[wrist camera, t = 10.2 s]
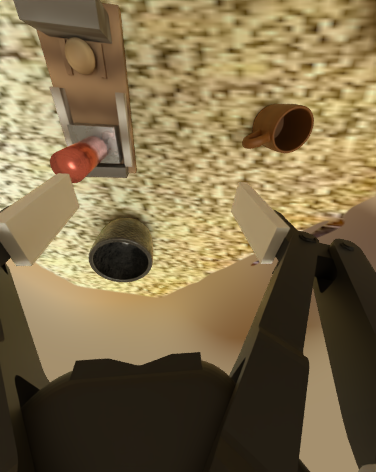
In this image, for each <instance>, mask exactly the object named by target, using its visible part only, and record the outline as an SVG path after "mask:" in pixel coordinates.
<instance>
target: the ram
mask: <svg viewBox="0 0 376 472" xmlns="http://www.w3.org/2000/svg"><path fill="white" fill-rule="evenodd" d="M67 127H68V131H69V134H70V138H71V141H72V145H70V146H68V147H66V148H64V149H62V150H60V151H58V152H56V153H54V154H53V155H52V156H51V159H50V165H51V168H52V170H53V172H54V173H55V174H58V173H61V174H69V175H70V179H71V182H72V183H78V182H80V181H82V180H83V179H84V178H85V177H86V176H87V175H88V174H89V173H90V172H91V171H92V170H93V169H94V168H95V167H96V166H97V165H98V164H99V163H114V164H120V163H121V161H122V160H123V153H122V146H121V139H120V131H119V125H108V124H92V123H72V124H67Z"/></svg>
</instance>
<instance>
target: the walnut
mask: <svg viewBox="0 0 376 472" xmlns="http://www.w3.org/2000/svg"><path fill="white" fill-rule="evenodd" d="M65 56H66V59H67V61H68V63H69V64H70V66H71V67H72V68H73V69H74V70H75V71H77V72H78V73H80V74H83V75H88V74H90V73H92V72H93V70H94V68H95V56H94V54H93V51H92V49H91V48H90V46H89V45H88V44H87V43H86V42H85V41H83V40H82V39H80V38H77V37H72V38H70V39H68V40H67V42H66V44H65Z"/></svg>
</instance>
